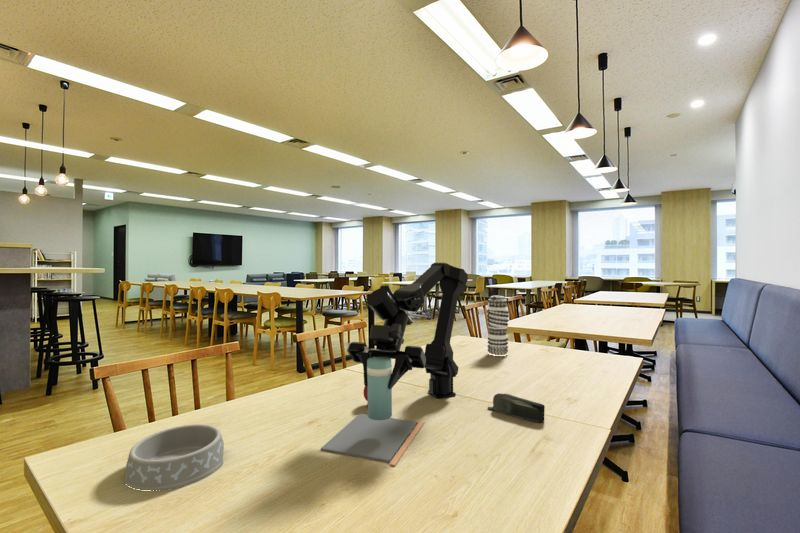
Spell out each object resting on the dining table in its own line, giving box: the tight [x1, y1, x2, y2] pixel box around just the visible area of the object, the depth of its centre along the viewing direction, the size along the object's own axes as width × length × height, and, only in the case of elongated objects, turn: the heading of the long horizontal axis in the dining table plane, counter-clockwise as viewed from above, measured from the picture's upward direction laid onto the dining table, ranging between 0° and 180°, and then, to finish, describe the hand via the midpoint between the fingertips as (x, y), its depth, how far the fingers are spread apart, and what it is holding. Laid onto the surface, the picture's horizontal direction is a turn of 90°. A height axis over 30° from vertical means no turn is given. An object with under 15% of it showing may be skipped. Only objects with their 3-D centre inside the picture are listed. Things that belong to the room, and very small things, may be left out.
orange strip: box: [389, 420, 425, 467], centre depth 90 cm, size 22×1×1 cm, turn 161°
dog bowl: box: [124, 423, 225, 492], centre depth 80 cm, size 17×18×5 cm
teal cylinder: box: [367, 357, 393, 420], centre depth 92 cm, size 6×6×13 cm
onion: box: [362, 385, 368, 402], centre depth 112 cm, size 6×6×8 cm
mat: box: [320, 413, 419, 463], centre depth 93 cm, size 16×20×1 cm
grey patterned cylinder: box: [486, 295, 509, 355], centre depth 169 cm, size 9×9×25 cm
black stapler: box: [487, 393, 546, 424], centre depth 104 cm, size 5×3×15 cm
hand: (377, 386), depth 90 cm, fingers closed on teal cylinder, 6 cm apart
